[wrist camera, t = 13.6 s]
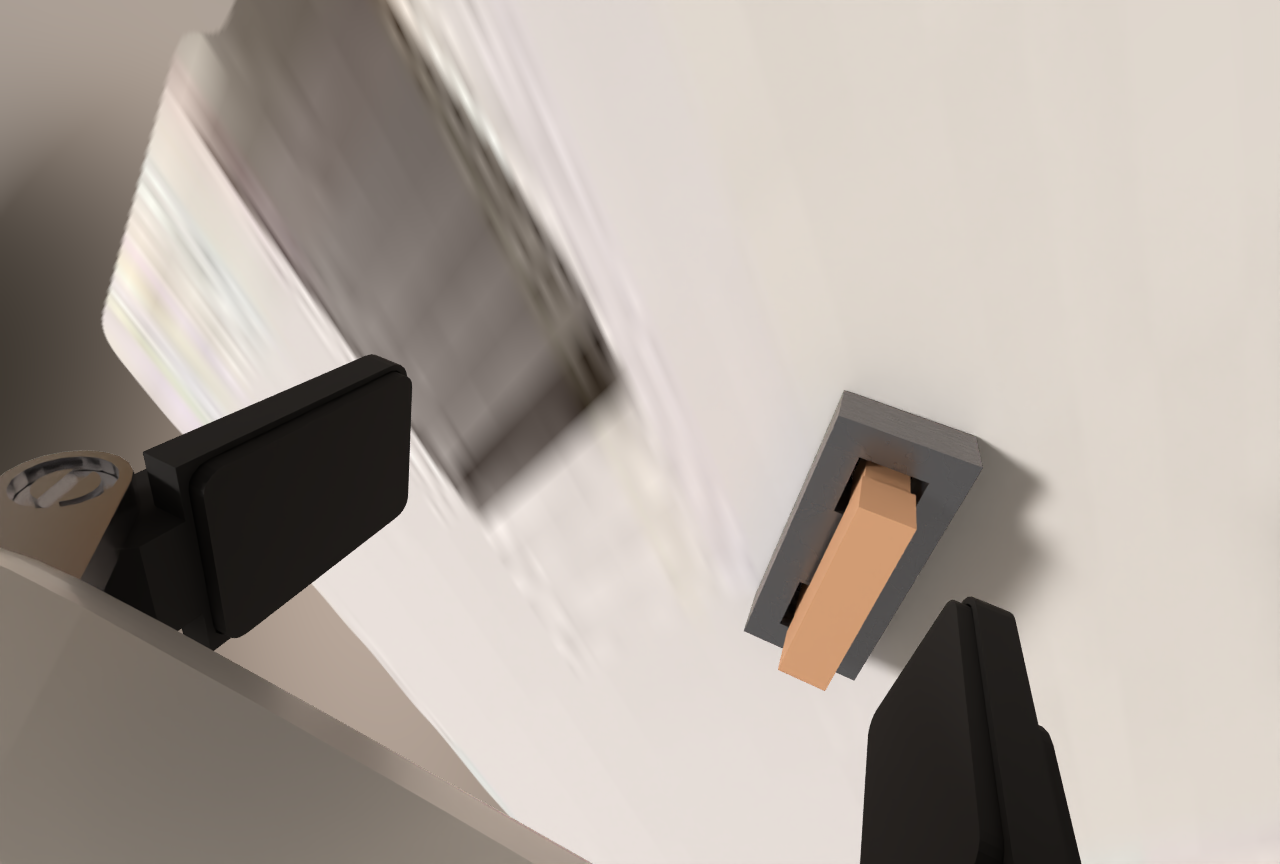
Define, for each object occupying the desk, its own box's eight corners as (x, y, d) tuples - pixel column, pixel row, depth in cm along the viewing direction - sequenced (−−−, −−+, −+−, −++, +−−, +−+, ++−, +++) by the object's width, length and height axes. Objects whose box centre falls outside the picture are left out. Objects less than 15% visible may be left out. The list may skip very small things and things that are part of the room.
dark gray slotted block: (976, 436, 37) (982, 467, 34) (858, 640, 46) (854, 680, 43) (844, 390, 39) (838, 415, 36) (755, 595, 48) (743, 630, 45)
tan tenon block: (914, 455, 39) (916, 529, 32) (837, 602, 46) (824, 691, 38) (866, 438, 40) (858, 507, 33) (797, 585, 46) (777, 669, 39)
